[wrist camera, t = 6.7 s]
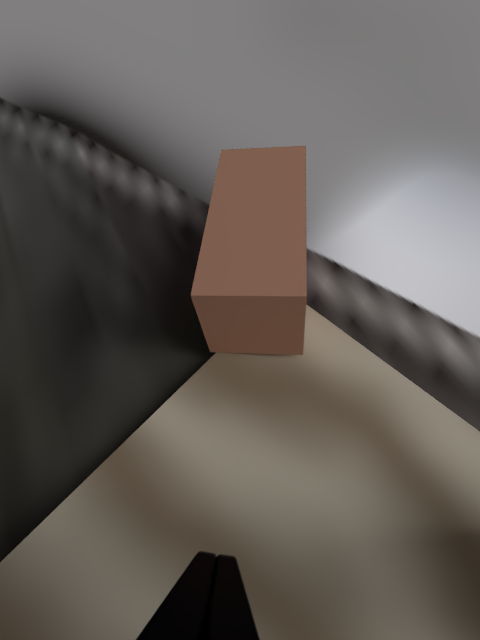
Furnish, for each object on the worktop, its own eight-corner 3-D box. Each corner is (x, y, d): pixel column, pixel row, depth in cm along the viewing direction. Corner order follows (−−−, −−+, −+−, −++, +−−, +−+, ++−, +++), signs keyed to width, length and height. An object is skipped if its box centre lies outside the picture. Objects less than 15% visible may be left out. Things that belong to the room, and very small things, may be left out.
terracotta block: (306, 296, 14) (305, 145, 20) (190, 295, 15) (221, 149, 20) (302, 355, 18) (303, 214, 23) (210, 352, 18) (231, 215, 24)
